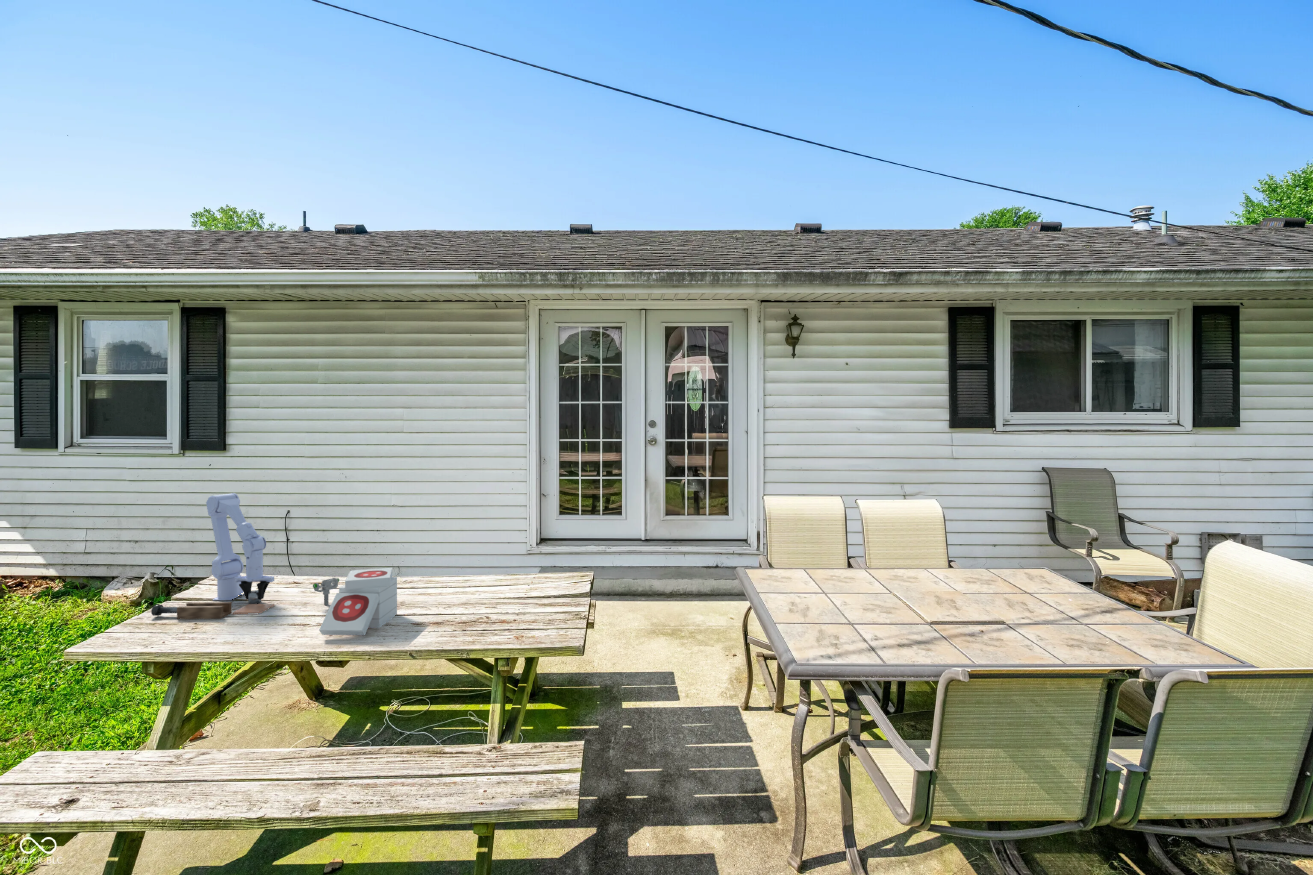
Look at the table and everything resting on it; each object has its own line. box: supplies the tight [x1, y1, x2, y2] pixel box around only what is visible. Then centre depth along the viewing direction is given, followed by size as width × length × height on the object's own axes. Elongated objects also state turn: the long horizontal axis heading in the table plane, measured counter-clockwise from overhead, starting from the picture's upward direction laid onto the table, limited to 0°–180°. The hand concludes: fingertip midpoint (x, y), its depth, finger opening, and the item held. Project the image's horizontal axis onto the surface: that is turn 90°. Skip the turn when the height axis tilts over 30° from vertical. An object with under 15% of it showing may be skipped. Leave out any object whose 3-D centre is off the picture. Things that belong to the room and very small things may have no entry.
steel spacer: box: [247, 589, 262, 605], centre depth 241 cm, size 4×4×4 cm
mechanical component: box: [312, 577, 340, 606], centre depth 240 cm, size 3×10×10 cm, turn 152°
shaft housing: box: [176, 601, 233, 620], centre depth 224 cm, size 16×6×4 cm, turn 94°
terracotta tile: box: [232, 603, 275, 615], centre depth 232 cm, size 10×10×1 cm
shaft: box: [150, 604, 178, 617], centre depth 224 cm, size 20×4×4 cm, turn 94°
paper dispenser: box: [318, 567, 398, 636], centre depth 217 cm, size 19×30×18 cm, turn 1°
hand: (254, 598), depth 241 cm, fingers closed on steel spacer, 4 cm apart
